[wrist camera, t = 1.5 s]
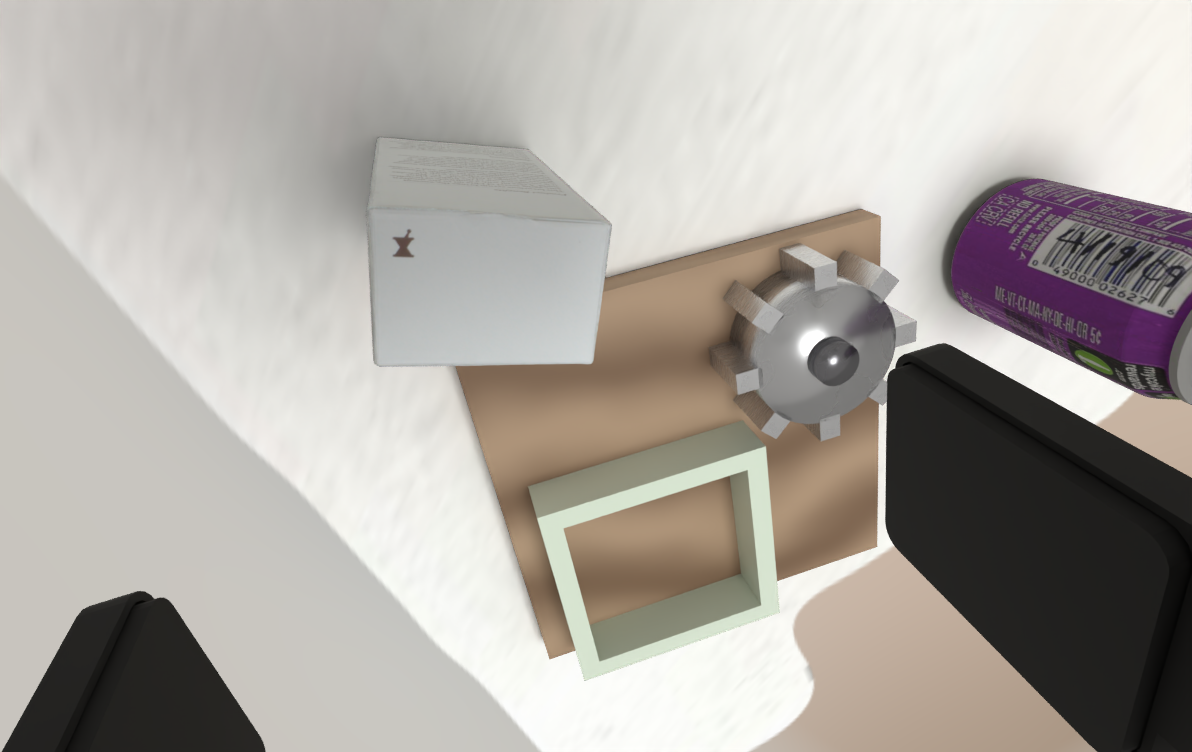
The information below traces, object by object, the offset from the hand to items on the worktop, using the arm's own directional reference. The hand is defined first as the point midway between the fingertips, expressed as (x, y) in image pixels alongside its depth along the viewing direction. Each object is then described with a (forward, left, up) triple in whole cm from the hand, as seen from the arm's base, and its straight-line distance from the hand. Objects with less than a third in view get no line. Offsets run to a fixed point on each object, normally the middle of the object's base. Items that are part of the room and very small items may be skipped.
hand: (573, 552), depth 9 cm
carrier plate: (+15, +8, -22) cm, 28 cm away
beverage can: (+9, +26, -22) cm, 35 cm away
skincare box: (0, 0, -22) cm, 22 cm away
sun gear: (+9, +14, -20) cm, 26 cm away
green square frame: (+19, +5, -20) cm, 28 cm away
